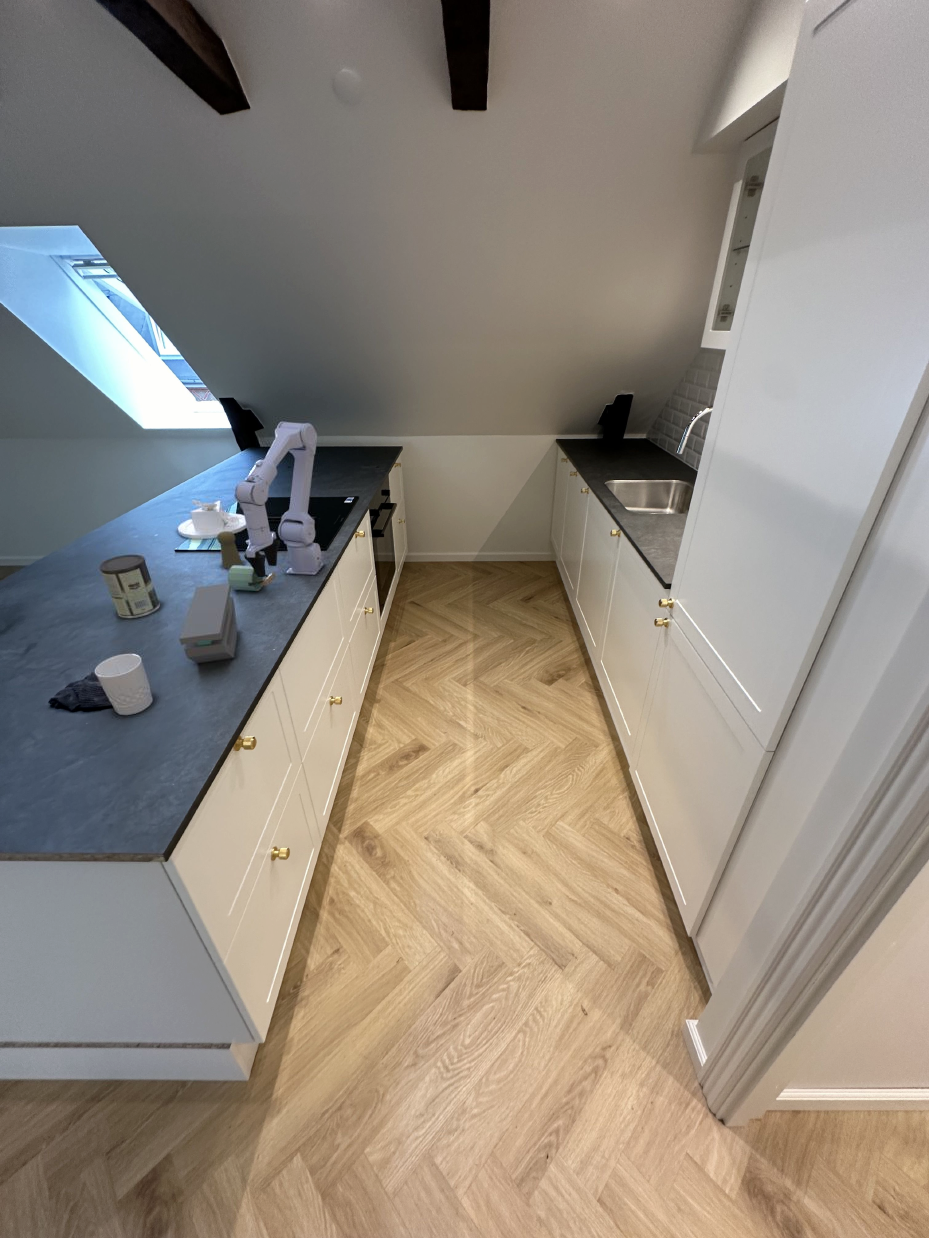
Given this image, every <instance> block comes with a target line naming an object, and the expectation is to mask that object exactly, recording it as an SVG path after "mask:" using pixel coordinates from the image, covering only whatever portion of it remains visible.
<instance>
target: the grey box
mask: <svg viewBox="0 0 929 1238" xmlns="http://www.w3.org/2000/svg"><path fill="white" fill-rule="evenodd" d="M231 593H232V588H231V585H230V583H229V582H228V583H221V584H213V585H204V586H196V587H195V590H194V593H193V596H192V599H191V602H190V604H189V608H188V611H187V614H186V617H185V619H184V623H183V626H182V628H181V633H180V636H179V639H178V640H179V643H180V645H181V646H184V645H185V646H184V652H185V655H186V658H188V659H189V660H191V661H193V662H194V663H196V664H202V663H208V662H216V661H222V660H223V661H224V660H229V659H234V658H235V652H236V645H237V638H238V625H237V616H236V606H235V601H234V597H233V596H231Z"/></svg>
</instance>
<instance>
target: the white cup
mask: <svg viewBox="0 0 929 1238" xmlns="http://www.w3.org/2000/svg"><path fill="white" fill-rule="evenodd" d="M144 666H145V665H144V663H143V660H142V657H141V656H140V655H138V654H136V653H125V654H124V653H123V654H117V655H115V656H111V657H109V658H107V659H105V660H103V661H102V662H100V663H99V664H98V665H97V666H96V667H95V669H94V674H95V676H96V678H97V680H98V682H99V684H100V685H101V688H102V690H103V691H104V693H105V695H106V697H107V699H108V701H109V702H110V703H111V705H112V708H113V709H114V711H115V713H116V714H118V715H121V716H130V715H135V714H137V713H138V714H139V713H140V712H143V711H144V710H146V709H147V708H148V707H150V706H151V705H152V703H153V702H154V700H153V695H152V692H151V687H150V683H149V678H148V676H147V673H146V669H145V667H144Z"/></svg>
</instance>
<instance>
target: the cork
mask: <svg viewBox="0 0 929 1238" xmlns="http://www.w3.org/2000/svg"><path fill="white" fill-rule="evenodd" d="M216 540H217V542H218V543H219V544H220V545H219V546H220V554H221V565H222V568H224V569H226V570H227V569H229V570H230V568H231V567H232V566H234V565H236V566H243V563H244V562H243V561H242V557H241V555H240V553H239V550H238V548H237V545H236V543H235V541H236V535H235V533H234V534H233V533H232V532H229V531H225V532H221V533H219V534H218V535H217V538H216Z"/></svg>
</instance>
